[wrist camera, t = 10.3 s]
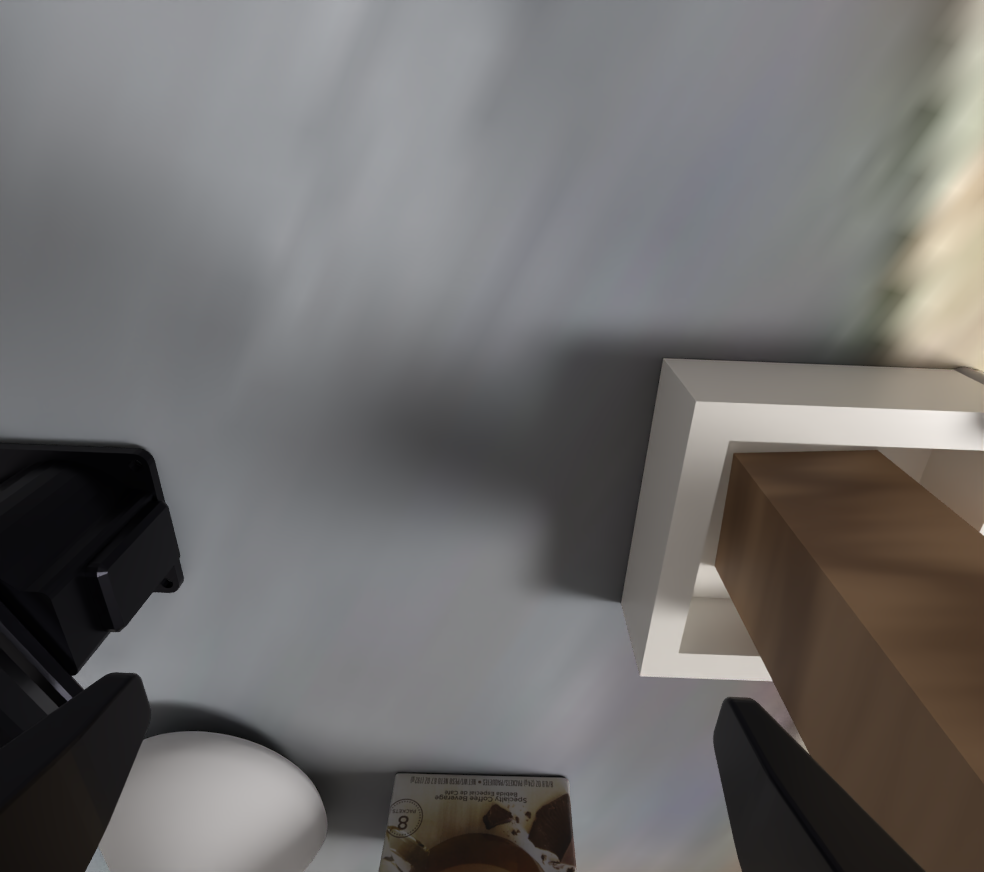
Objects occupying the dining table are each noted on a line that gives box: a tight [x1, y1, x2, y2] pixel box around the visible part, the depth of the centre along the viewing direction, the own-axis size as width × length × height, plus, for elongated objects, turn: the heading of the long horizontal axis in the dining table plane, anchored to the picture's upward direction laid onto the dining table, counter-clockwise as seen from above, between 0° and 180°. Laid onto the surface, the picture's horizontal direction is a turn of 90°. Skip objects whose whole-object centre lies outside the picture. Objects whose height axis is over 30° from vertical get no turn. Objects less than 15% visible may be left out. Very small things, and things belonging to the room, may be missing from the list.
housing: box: [621, 358, 984, 681], centre depth 20 cm, size 11×11×6 cm
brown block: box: [715, 450, 984, 872], centre depth 16 cm, size 5×5×14 cm
